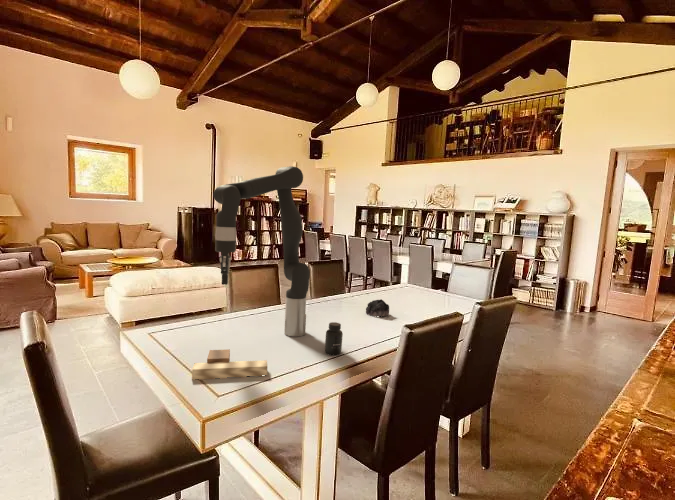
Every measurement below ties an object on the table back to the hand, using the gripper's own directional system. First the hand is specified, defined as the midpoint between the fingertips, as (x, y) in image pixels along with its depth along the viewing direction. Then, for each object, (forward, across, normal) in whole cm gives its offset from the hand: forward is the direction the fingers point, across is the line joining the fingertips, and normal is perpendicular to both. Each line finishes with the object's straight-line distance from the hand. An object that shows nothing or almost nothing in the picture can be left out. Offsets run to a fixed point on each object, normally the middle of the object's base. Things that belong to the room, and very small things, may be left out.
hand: (224, 284), depth 139 cm
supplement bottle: (+27, -4, -43) cm, 51 cm away
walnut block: (+27, -14, 0) cm, 30 cm away
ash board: (+27, -20, -4) cm, 34 cm away
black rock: (+27, +50, -81) cm, 99 cm away
